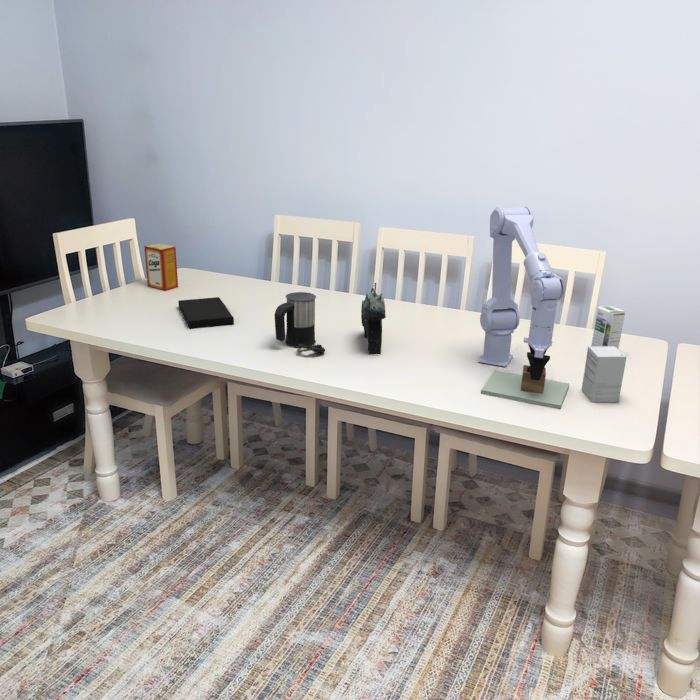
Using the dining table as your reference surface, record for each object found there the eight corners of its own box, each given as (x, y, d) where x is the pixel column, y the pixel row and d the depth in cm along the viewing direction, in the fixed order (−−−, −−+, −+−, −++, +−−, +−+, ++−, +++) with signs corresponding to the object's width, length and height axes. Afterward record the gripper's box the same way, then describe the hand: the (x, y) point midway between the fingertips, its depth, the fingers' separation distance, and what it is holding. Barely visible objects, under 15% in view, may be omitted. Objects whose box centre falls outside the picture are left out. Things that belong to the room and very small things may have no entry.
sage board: (494, 373, 190) (494, 369, 190) (568, 386, 183) (569, 383, 182) (480, 393, 177) (481, 389, 177) (560, 409, 170) (560, 405, 169)
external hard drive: (189, 330, 218) (189, 321, 217) (178, 308, 238) (178, 300, 237) (234, 325, 223) (233, 317, 222) (219, 305, 243) (219, 297, 242)
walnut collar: (521, 382, 182) (523, 365, 180) (543, 385, 181) (545, 367, 179) (520, 390, 177) (522, 372, 175) (543, 393, 176) (545, 375, 174)
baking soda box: (147, 286, 261) (144, 245, 255) (161, 283, 266) (157, 242, 260) (164, 291, 256) (161, 248, 250) (178, 287, 261) (175, 245, 256)
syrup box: (589, 352, 207) (596, 306, 202) (604, 350, 209) (612, 304, 204) (602, 359, 202) (610, 312, 197) (618, 356, 204) (626, 310, 199)
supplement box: (608, 390, 181) (615, 345, 176) (619, 402, 174) (627, 356, 170) (580, 390, 181) (587, 345, 176) (590, 402, 174) (598, 356, 169)
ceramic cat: (385, 356, 200) (388, 290, 192) (362, 357, 199) (365, 290, 192) (377, 333, 218) (380, 272, 211) (357, 333, 218) (359, 272, 210)
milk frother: (296, 335, 215) (295, 289, 209) (340, 344, 208) (341, 297, 203) (270, 349, 203) (269, 301, 198) (316, 360, 196) (317, 310, 191)
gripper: (526, 313, 180) (520, 361, 185) (524, 331, 167) (518, 382, 172) (554, 316, 178) (547, 364, 183) (555, 334, 165) (547, 386, 170)
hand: (535, 373), depth 177 cm, fingers open, 7 cm apart
